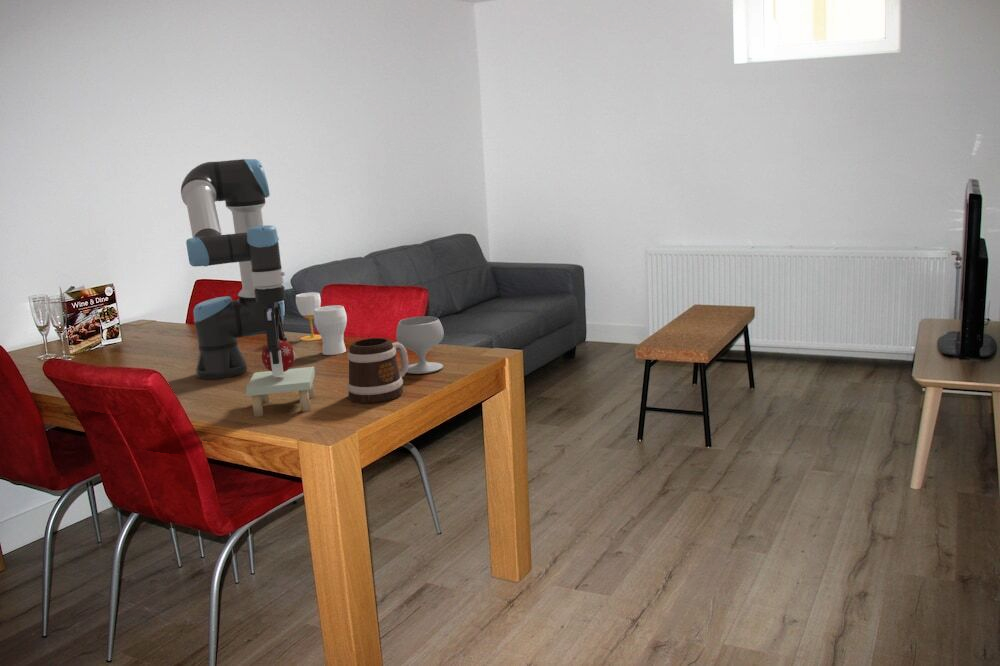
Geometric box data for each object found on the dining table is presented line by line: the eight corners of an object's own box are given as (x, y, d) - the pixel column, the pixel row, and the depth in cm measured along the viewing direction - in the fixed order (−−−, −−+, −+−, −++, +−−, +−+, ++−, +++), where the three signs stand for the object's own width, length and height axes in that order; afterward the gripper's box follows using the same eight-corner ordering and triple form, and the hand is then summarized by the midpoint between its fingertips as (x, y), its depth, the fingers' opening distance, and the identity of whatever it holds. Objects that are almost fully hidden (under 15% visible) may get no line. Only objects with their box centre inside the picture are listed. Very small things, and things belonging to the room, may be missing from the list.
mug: (373, 407, 219) (367, 351, 216) (336, 399, 229) (330, 345, 226) (428, 387, 234) (423, 334, 230) (391, 380, 243) (386, 329, 240)
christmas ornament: (269, 368, 229) (264, 332, 226) (300, 366, 228) (296, 330, 226) (259, 377, 220) (254, 340, 218) (292, 375, 220) (287, 338, 218)
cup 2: (322, 340, 302) (317, 295, 299) (297, 341, 302) (291, 297, 299) (328, 334, 311) (322, 291, 307) (303, 336, 311) (298, 293, 308)
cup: (333, 357, 275) (327, 312, 272) (311, 354, 282) (305, 310, 278) (357, 350, 283) (352, 306, 280) (335, 347, 290) (330, 304, 287)
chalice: (391, 375, 249) (386, 325, 246) (413, 362, 262) (408, 315, 259) (434, 376, 244) (429, 325, 241) (454, 363, 257) (450, 315, 253)
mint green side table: (249, 418, 218) (245, 388, 216) (258, 400, 233) (254, 372, 231) (313, 411, 219) (309, 382, 218) (317, 394, 235) (314, 366, 233)
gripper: (279, 291, 209) (290, 379, 214) (288, 278, 230) (298, 359, 235) (247, 294, 208) (260, 383, 213) (259, 281, 229) (270, 362, 234)
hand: (280, 370), depth 224 cm, fingers closed on christmas ornament, 8 cm apart
